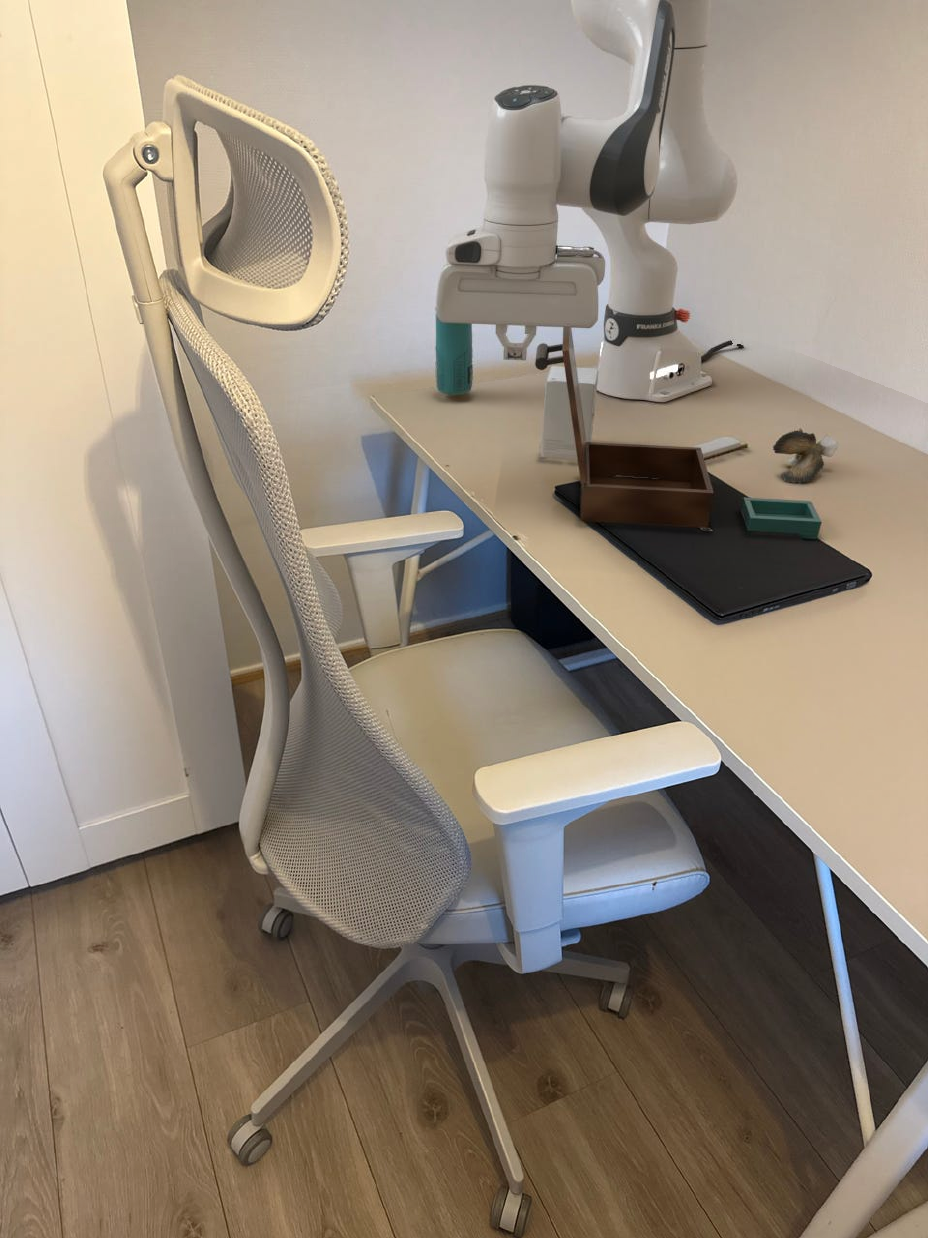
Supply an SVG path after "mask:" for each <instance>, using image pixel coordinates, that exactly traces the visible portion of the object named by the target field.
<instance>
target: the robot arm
mask: <svg viewBox="0 0 928 1238" xmlns="http://www.w3.org/2000/svg"><path fill="white" fill-rule="evenodd" d="M570 5H571V10H572V15H573V18H574V21H575V22H576V25H577V26H578V28H579V30H580V31H581V33H582V34H583V35H584V37H586V39H587V40H588V41H589V42H590V43H591V44H592V45H593V46H595V47H596V48H597V49H599V50H601V51H602V52H604V53H606V54H609V55H611V56H615V57H616V58H619V59H621V60H622V61H624V62H626V63H628V65H629V64H630V69H629V80H628V91H627V98H628V99H627V103H626V110H625V111H624V112H623V113H621V114H620V115H618V116H615V117H612V118H593V117H576V116H570V115H565V114H564V113H562V107H561V99H560V94H559V92H557V90H555V89H554V88H551V87H549V86H546V85H539V84H538V85H536V84H531V85H530V84H528V85H526V84H525V85H521V86H513V87H510V88H506V89H504V90H502V91H500V92H499V93H498V94H496V95H495V96H494V97H493V98H492V102H491V105H490V109H489V113H488V114H489V115H488V121H487V128H486V134H485V135H486V136H485V147H484V164H483V165H484V167H483V168H484V169H483V170H484V171H483V176H484V177H483V178H484V183H485V186H486V203H485V207H484V210H483V219H482V220H483V221H482V224H483V225H482V226H479V227H475V228H473V229H469V230H466V231H463V232H459V233H457V234H454V235H453V236H451V238H450V239H449V240H448V241H447V243H446V246H445V258H446V262H445V264H444V265H443V266H442V269H441V271H440V274H439V277H438V281H437V288H436V297H435V298H436V299H435V307H436V311H435V316H436V315H437V317H438V318H439V320H440V321H441V322H443V323H467V324H472V325H492V326H493V325H495V335H496V337H497V338H498V340H499V342H500V345H501V346H502V347H503V360H504V361H527V354H528V347H529V346H530V345H531V343H532V342H533V340H534V339H535V337H536V336H537V328H538V327H543V328H544V327H545V328H549V327H550V328H563V327H570V328H571V329H572V328H574V329H591V328H593V327H594V326H595V325H596V324H597V322H598V321H599V286H600V285H601V284H602V283H603V281H604V279H605V274H606V273H605V272H606V259H605V257H604V255H603V254H602V253H601V252H599V251H597V250H595V247H592V246H582V247H581V246H571V245H558V244H557V241H558V227H559V211H558V206H561V207H572V208H578V209H579V208H580V209H581V211H583V212H584V214H585V215H587V217H589V218H590V219H591V220H592V222H594V223H595V225H596V226H597V228H598V229H599V231H600V232H601V234H602V236H603V239H604V240H605V243H606V246H607V250H608V255H609V267H610V269H609V272H610V273H609V279H610V280H609V292H608V303H607V304H606V305H605V311H604V318H603V335H604V336H603V341H602V342H601V345H600V346H601V347H600V353H599V359H598V362H597V365H596V369H598V381H597V392H599V393H602V394H604V395H607V396H610V397H615V398H619V399H627V400H644V401H650V402H656V403H666V402H669V401H673V400H675V399H678V398H681V397H683V396H686V395H689V394H691V393H693V392H696V391H699V390H701V389H705V388H707V387H710V386H712V385H713V379H712V377H711V376H710V375H709V374H708V373H706V372H704V371H702V363H703V362H704V361H706V360H707V359H708V358H710V357H711V356H712V355H713V354H714V353H716V352H718V351H721V350H723V349H725V348H727V347H731V346H733V345H732V344H733V343H732V341H731V340H732V339H730V340H727V341H724V342H722V343H719V344H717V345H714V346H713V347H710V348H709V349H708V351H707V352H706V353H704V354H702V353H701V351H700V349H699V347H698V346H697V345H696V344H695V343H694V342H692V341H691V340H690V339H689V338H688V337H687V336H686V334H684V333H683V332H682V331H681V330H680V329H678V328H679V326H678V321H680V322H681V323H688V322H689V320H690V318H691V313H690V310H685V309H683V308H678V309H676V308H675V307H673V306H674V298H675V292H676V285H677V284H676V283H677V277H678V262H677V260H676V258H675V256H674V255H673V254H672V252H671V251H669V250H668V249H667V248H666V247H664V246H663V245H661V244H659V243H658V242H656V241H655V240H653V239H652V237H650V236H649V234H648V232H647V230H646V224H648V223H649V224H650V223H658V224H659V223H660V224H661V223H662V224H676V225H677V224H678V225H694V224H704V223H709V222H716V221H719V220H720V219H721V218H722V217H724V215H726V213H727V212H728V210H729V209H730V207H731V206H732V204H733V202H734V200H735V197H736V193H737V189H738V175H737V170H736V167H735V165H734V163H733V161H732V160H731V158H730V157H729V155H727V154H726V153H725V152H724V151H723V150H722V148H721V147H719V145H718V144H717V142H716V141H715V139H714V137H713V136H712V134H711V132H710V129H709V126H708V124H707V120H706V116H705V115H706V114H705V110H704V86H705V85H704V83H705V71H706V62H707V54H708V46H709V45H708V44H709V37H710V30H711V29H710V28H711V15H712V14H711V13H712V11H711V10H712V0H570ZM662 139H663V145H661V143H662ZM557 205H558V206H557ZM594 255H595V256H594ZM508 326H522V327H524V335H526V336H525V337H524V339H523V341H522V342H510V340H509V338H508V336H507V331H508ZM735 346H736V347H738V349H744V348H745V346H744V344H743V345H741V344H737V345H735Z"/></svg>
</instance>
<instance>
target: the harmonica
mask: <svg viewBox="0 0 928 1238" xmlns="http://www.w3.org/2000/svg"><path fill="white" fill-rule="evenodd" d="M748 446H749V444H748V443H746V442H745V441H742V440H740V439H737V438H735V437H732V436H724V437H720V438H716V439H713V440H711V441H707V442H704V443H699V444H696V445H693V446H692V447H698V448H701V450H702V454H703V457H704V461H706V460H710V459H711V458H714V459H715V458H716V457H720V456H721V455H723V456H724V455H725V454H729V453H730V452H732V453H734V452H735V451H739V450H743V449H749V447H748Z"/></svg>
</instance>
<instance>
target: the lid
mask: <svg viewBox="0 0 928 1238" xmlns="http://www.w3.org/2000/svg"><path fill="white" fill-rule="evenodd" d="M573 337H574V336H573V331H572V328H570V327H562V343H559V344H554V345H548V344H547V343H543V342H542V343H540V344H538V345H537V347H536V354H535V361H534V365H535V368H536V369H537V370H538V371H544V370H546V369H547V368H548V366H553V365H559V364H563V366H564V367H565V374H566V381H567V388H568V395H569V402H570V409H571V416H572V423H573V431H574V438H575V445H576V452H577V459H578V460H577V465H578V473H579V481H580V480H581V483H585V482H587V456H586V434H585V426H584V419H583V411H582V404H581V396H580V389H579V382H578V374H577V367H578V366H577V359H576V353H575V345H574V339H573ZM555 352H561V353H562V355H560V356H559V355H558V356H552V357H550V353H555Z"/></svg>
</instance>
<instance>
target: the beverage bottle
mask: <svg viewBox="0 0 928 1238" xmlns="http://www.w3.org/2000/svg"><path fill="white" fill-rule="evenodd" d="M434 311H435V312H436V306H435V307H434ZM434 342H435V349H434V350H435V362H434V363H435V364H434V365H435V375H436V378H435V384H436V389H437V391H438V392H439V393H442V394H447V395H454V396H455V395H463V394H467V393H469V392H470V391H472V387H473V384H474V382H473V380H474V376H473V374H474V373H473V371H474V369H473V368H474V364H473V362H474V360H473V358H474V357H473V354H474V350H473V349H474V347H473V324H467V323H443V322H441V321H440V320H439V318H438V317H437V315H436V314H435V341H434Z"/></svg>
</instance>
